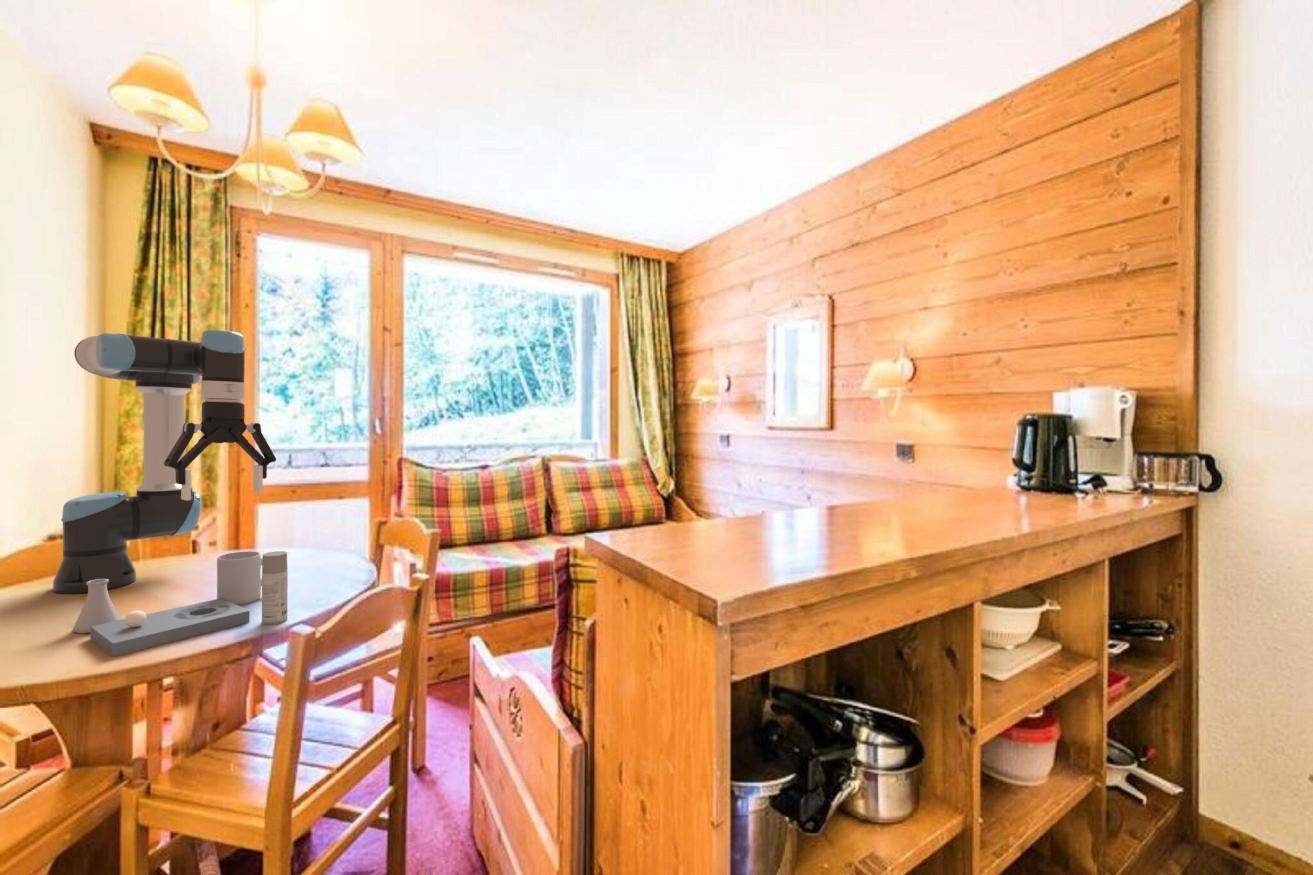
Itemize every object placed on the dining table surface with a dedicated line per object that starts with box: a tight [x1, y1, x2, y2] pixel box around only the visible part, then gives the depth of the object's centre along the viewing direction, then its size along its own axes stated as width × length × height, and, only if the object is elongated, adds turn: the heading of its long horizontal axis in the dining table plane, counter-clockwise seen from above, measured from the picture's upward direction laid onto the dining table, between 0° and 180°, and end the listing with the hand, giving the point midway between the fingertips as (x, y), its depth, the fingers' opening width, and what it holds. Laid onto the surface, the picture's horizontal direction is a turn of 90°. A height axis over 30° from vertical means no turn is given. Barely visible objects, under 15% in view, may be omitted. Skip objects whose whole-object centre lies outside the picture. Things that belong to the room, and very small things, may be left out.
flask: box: [71, 579, 123, 634], centre depth 117 cm, size 7×7×10 cm
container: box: [261, 550, 289, 626], centre depth 123 cm, size 5×5×15 cm
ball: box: [124, 610, 147, 627], centre depth 112 cm, size 3×3×3 cm
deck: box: [90, 598, 250, 658], centre depth 117 cm, size 14×22×2 cm, turn 147°
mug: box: [216, 550, 263, 606], centre depth 137 cm, size 12×8×11 cm
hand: (223, 496), depth 125 cm, fingers open, 13 cm apart
